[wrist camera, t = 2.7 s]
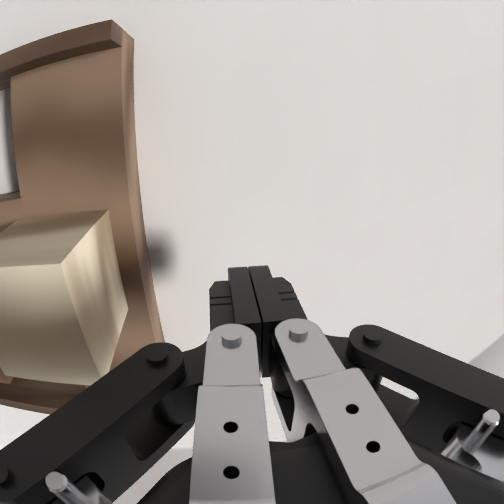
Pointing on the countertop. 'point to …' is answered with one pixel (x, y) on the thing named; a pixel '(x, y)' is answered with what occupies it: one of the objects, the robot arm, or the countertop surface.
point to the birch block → (60, 298)
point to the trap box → (79, 170)
